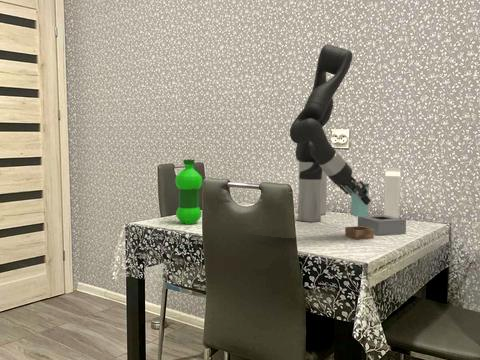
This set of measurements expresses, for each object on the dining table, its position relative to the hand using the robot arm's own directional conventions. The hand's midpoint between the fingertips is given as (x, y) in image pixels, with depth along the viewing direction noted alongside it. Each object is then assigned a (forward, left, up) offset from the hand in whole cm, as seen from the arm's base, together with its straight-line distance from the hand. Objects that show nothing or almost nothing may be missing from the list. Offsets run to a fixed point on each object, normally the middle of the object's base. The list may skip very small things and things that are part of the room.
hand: (364, 201), depth 163 cm
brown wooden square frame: (-1, -1, -12) cm, 12 cm away
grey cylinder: (-17, +51, -12) cm, 55 cm away
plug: (-2, -1, -5) cm, 5 cm away
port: (+8, +11, -12) cm, 18 cm away
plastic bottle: (-65, +14, -12) cm, 68 cm away
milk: (+16, +39, -12) cm, 44 cm away
